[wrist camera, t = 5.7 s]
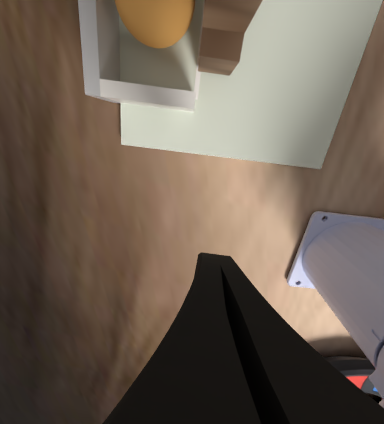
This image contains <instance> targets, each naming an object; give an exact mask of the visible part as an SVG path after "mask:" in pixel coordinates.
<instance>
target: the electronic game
mask: <svg viewBox="0 0 384 424" xmlns="http://www.w3.org/2000/svg"><path fill="white" fill-rule="evenodd" d="M325 359H326V360H327V361H328V362H329V363H330V364H331V365H333V366H334V367H335V368H336V369H337V370H338V371H340V372H341V373H342V374H343V375H344V376H346V377H347V378H348V379H349V380H350V381H351V382H353V383H354V384H355V385H356V386H357V387H358V388H360V389H361V390H362V391H363V392H365V393H370V394H374V395H377V396H380V397H381V395H380V394H379V392H378V391H377V389H376V388H375V387H374V385H373V384H372V382H371V381H370V379H369V376H370V375H372V374H373V372H374V371H375V370H376V368H375V367H374V366H373V364H372V363H371V362H370V360H369V359H365V358H360V357H351V356H335V357H326V358H325Z"/></svg>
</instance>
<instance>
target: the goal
mask: <svg viewBox="0 0 384 424" xmlns="http://www.w3.org/2000/svg"><path fill="white" fill-rule="evenodd" d="M78 6H79V20H80V33H81V46H82V59H83V72H84V86H85V94H86V95H89V96H93V97H96V98H99V99H103V100H106V101H110V102H113V103H126V104H133V105H141V106H149V107H156V108H164V109H171V110H179V111H186V112H194V108H195V98H196V92H193V91H186V90H178V89H171V88H164V87H156V86H149V85H142V84H134V83H127V82H120V38H119V13H118V10H117V7H116V4H115V0H78Z"/></svg>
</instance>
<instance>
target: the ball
mask: <svg viewBox="0 0 384 424" xmlns="http://www.w3.org/2000/svg"><path fill="white" fill-rule="evenodd" d="M115 4H116V7H117V10H118V13H119V15H120V18H121V20H122V22H123V23H124V25H125V26H126V28H127V29H128V31H129V32H130V33H131V34H132V35H133V36H134V37H135V38H136V39H137V40H138V41H140V42H141V43H143V44H145V45H147V46H149V47H152V48H166V47H169V46H172V45H173V44H175V43H176V42H178V41H179V40H180V39H181V38H182V37H183V36H184V34H185V33H186V31H187V29H188V28H189V26H190V23H191V21H192V17H193V13H194V8H195V0H115Z"/></svg>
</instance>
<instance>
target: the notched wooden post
mask: <svg viewBox="0 0 384 424" xmlns="http://www.w3.org/2000/svg"><path fill="white" fill-rule="evenodd" d="M262 1H263V0H204V12H203V24H202V34H201V43H200V52H199V64H198V71H199V72H207V73H214V74H221V75H228V76H230V74H231V73H232V72H233V70H234V69H235V67H236V66H237V65H238V63H239V62H240V56H241V50H242V45H243V39H244V33H245V32H246V30H247V28H248V26H249V24H250V22H251V21H252V19H253V17H254V15H255V13H256V11H257V10H258V8H259V6H260V4H261V2H262Z"/></svg>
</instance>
